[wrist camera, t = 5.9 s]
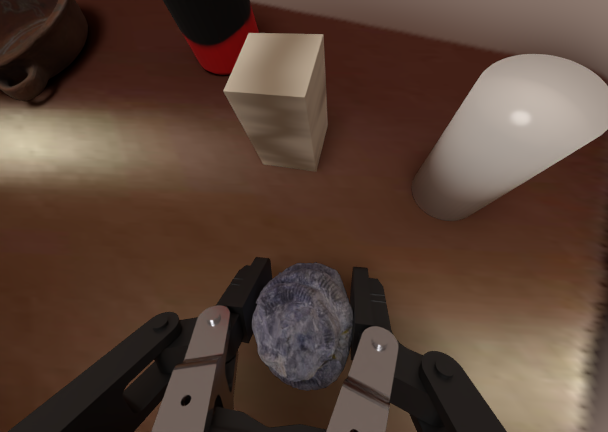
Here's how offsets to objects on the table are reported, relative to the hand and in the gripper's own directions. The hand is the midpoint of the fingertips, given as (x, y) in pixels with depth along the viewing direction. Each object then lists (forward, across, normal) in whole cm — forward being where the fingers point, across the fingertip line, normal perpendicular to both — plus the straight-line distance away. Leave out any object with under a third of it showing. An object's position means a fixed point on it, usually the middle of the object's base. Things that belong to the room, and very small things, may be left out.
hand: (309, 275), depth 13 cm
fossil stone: (+2, 0, +5) cm, 5 cm away
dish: (+22, +40, -15) cm, 49 cm away
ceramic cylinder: (+9, -9, -2) cm, 13 cm away
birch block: (+12, +3, -5) cm, 13 cm away
